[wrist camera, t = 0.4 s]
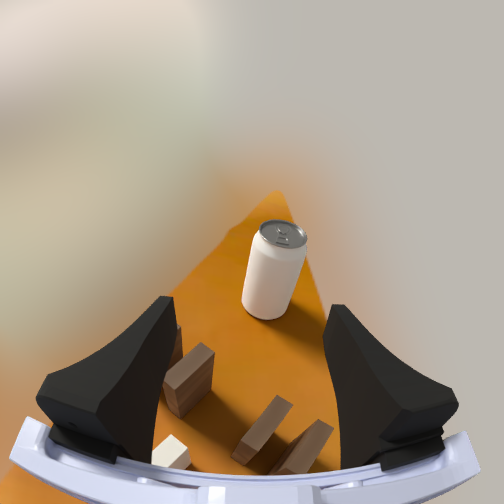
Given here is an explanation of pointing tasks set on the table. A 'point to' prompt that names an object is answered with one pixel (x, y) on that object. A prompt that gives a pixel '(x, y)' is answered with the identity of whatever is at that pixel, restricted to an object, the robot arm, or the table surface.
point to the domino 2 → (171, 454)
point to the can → (273, 268)
